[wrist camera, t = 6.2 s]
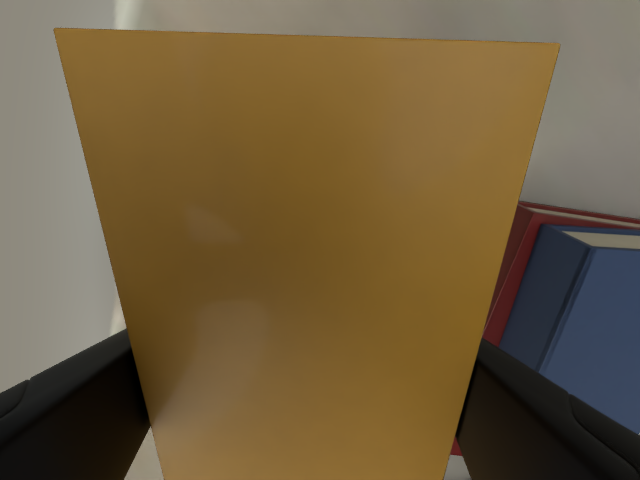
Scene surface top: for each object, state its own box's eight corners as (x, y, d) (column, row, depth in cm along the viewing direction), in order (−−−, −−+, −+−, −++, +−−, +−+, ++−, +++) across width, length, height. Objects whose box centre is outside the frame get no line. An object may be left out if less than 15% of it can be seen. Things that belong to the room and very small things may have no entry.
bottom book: (558, 431, 24) (586, 469, 21) (420, 415, 23) (432, 452, 21) (685, 226, 18) (748, 245, 15) (501, 198, 17) (533, 212, 15)
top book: (398, 456, 12) (422, 560, 9) (214, 451, 12) (182, 555, 9) (467, 71, 7) (562, 42, 4) (158, 62, 7) (51, 27, 4)
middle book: (562, 444, 21) (599, 495, 18) (466, 439, 20) (489, 491, 18) (671, 231, 15) (751, 257, 12) (540, 223, 15) (591, 248, 12)
